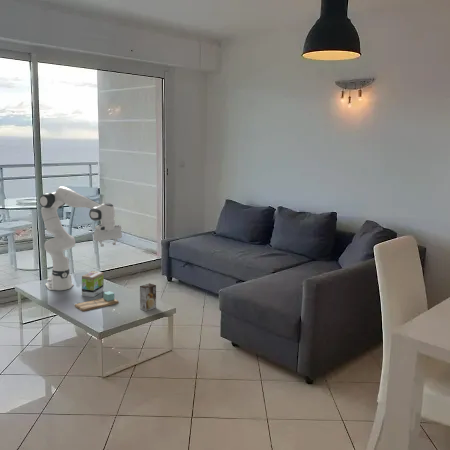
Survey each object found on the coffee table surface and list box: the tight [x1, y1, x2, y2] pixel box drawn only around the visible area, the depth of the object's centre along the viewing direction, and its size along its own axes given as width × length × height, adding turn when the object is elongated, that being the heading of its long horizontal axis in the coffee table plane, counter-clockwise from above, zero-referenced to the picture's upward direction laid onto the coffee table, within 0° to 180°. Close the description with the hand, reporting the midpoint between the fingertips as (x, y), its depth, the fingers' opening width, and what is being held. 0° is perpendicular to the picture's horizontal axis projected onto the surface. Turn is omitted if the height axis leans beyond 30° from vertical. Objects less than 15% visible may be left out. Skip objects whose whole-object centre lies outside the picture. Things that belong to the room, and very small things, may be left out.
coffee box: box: [139, 283, 157, 312], centre depth 303 cm, size 9×6×16 cm
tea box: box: [81, 270, 105, 298], centre depth 330 cm, size 15×10×15 cm
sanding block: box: [102, 290, 115, 302], centre depth 314 cm, size 6×5×5 cm
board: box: [74, 297, 120, 312], centre depth 308 cm, size 12×26×2 cm, turn 134°
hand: (108, 245), depth 320 cm, fingers open, 8 cm apart
